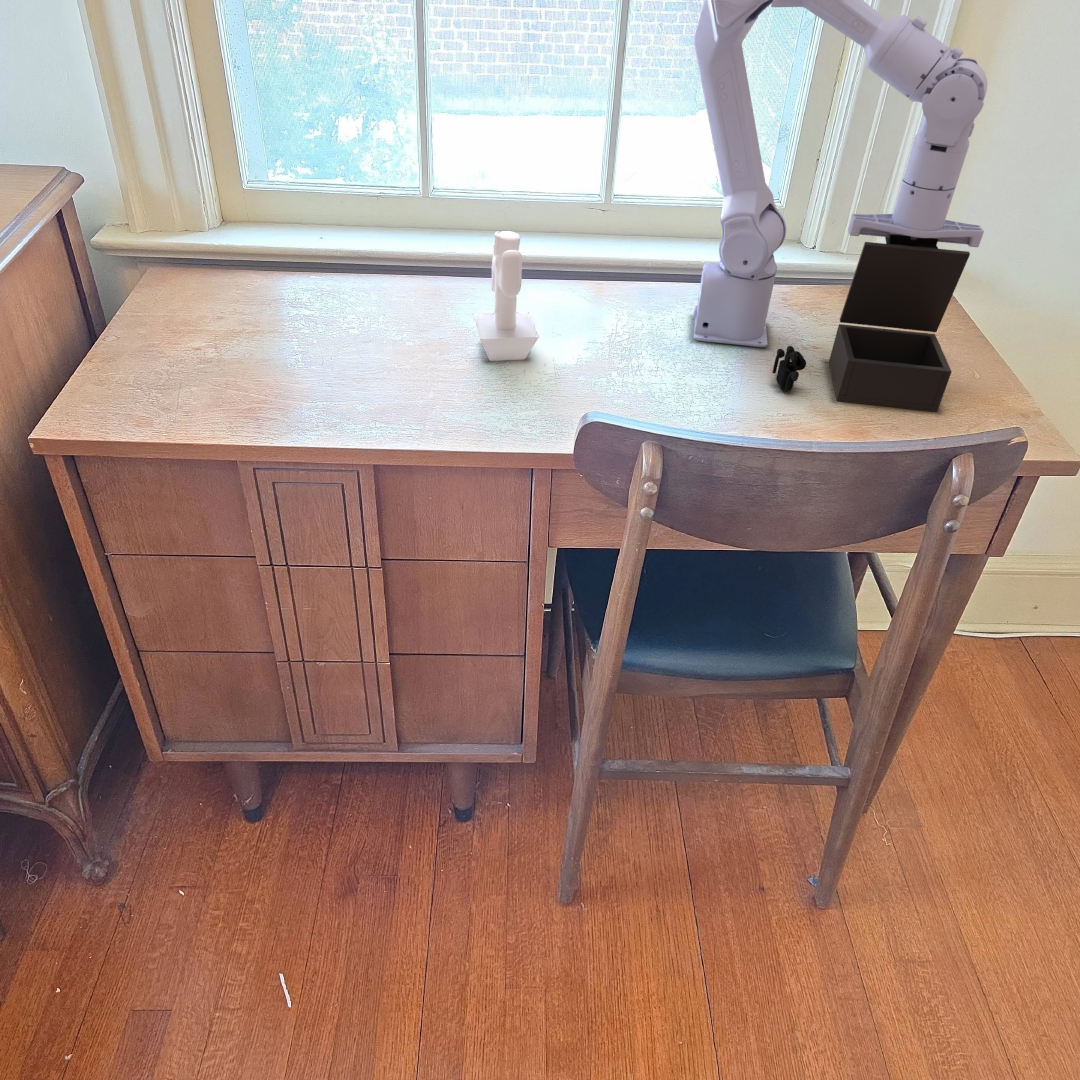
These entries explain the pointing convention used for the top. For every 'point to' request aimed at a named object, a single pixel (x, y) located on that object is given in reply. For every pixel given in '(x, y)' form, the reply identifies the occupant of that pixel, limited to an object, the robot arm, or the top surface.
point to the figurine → (506, 305)
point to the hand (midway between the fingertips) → (894, 298)
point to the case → (888, 368)
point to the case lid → (903, 286)
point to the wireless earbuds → (788, 367)
